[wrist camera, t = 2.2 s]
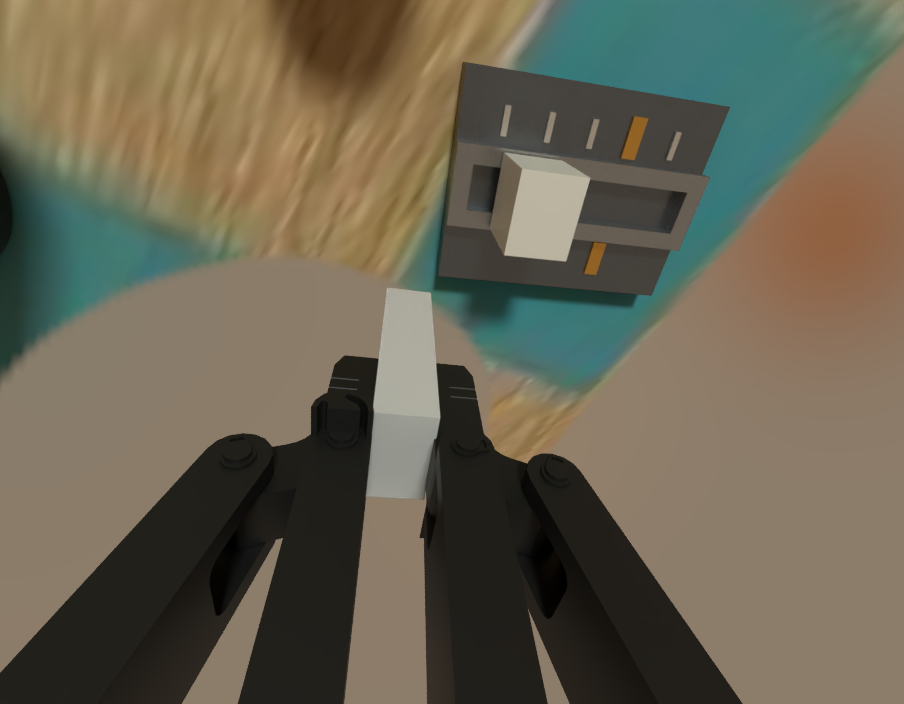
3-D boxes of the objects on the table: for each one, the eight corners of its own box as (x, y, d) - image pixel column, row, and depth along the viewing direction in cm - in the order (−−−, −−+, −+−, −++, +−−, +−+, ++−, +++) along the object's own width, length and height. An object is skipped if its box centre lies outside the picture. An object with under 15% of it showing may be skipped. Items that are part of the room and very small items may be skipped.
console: (436, 266, 36) (439, 281, 34) (462, 62, 29) (469, 62, 26) (640, 285, 39) (657, 301, 37) (712, 104, 32) (739, 108, 29)
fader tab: (486, 222, 33) (504, 255, 27) (500, 149, 30) (522, 168, 25) (539, 228, 33) (566, 261, 28) (556, 157, 31) (590, 177, 25)
